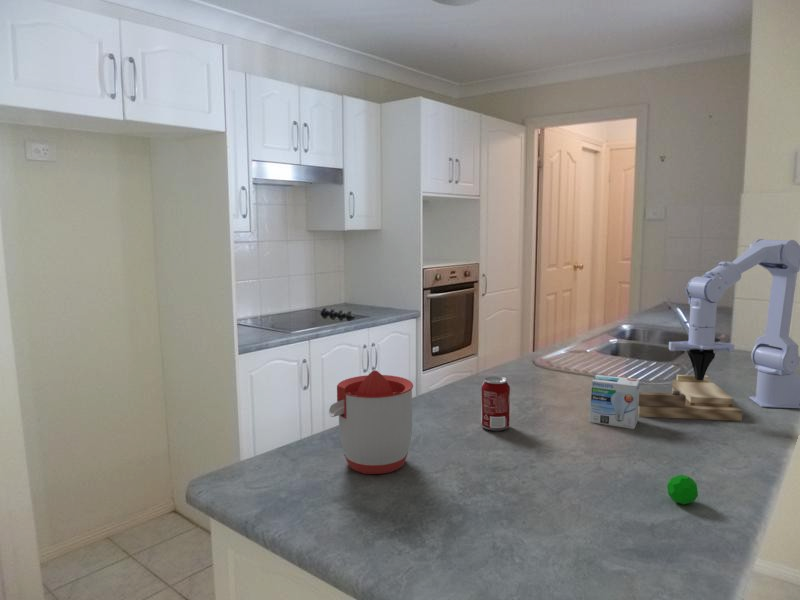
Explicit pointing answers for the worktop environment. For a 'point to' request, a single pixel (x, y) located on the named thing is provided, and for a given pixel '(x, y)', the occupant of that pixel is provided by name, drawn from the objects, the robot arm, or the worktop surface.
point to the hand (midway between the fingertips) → (699, 379)
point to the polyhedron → (682, 489)
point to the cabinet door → (662, 399)
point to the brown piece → (693, 411)
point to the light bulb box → (614, 401)
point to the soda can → (495, 403)
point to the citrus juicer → (374, 421)
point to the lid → (701, 390)
